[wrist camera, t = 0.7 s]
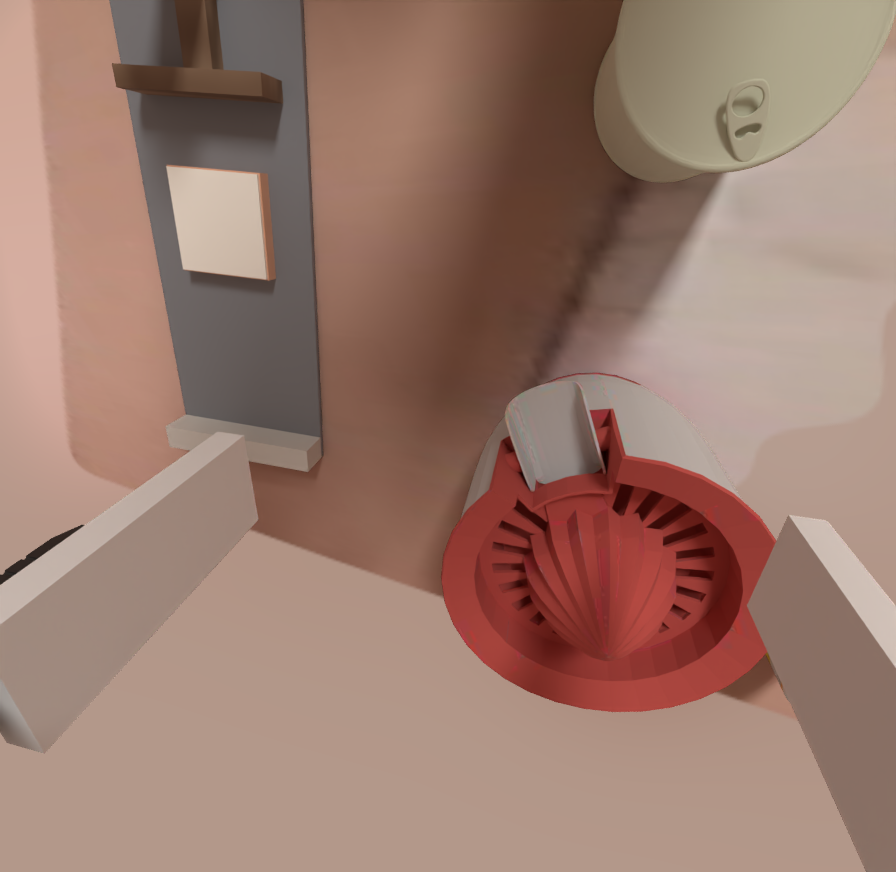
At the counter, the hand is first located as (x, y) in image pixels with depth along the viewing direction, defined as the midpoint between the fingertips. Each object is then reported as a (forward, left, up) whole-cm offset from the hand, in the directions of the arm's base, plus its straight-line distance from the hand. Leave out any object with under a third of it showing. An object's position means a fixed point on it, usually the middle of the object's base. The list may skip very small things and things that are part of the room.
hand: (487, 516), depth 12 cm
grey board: (-4, -23, -25) cm, 34 cm away
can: (-13, +6, -25) cm, 29 cm away
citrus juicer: (+9, +5, -25) cm, 27 cm away
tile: (-4, -23, -25) cm, 34 cm away
